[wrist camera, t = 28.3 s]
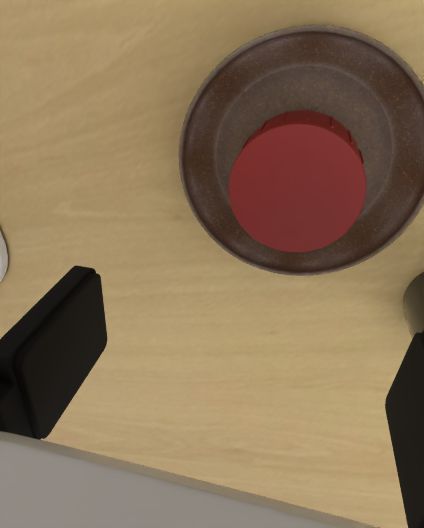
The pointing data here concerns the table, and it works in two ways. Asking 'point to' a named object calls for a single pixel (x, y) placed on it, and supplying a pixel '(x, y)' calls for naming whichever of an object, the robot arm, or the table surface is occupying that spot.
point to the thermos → (415, 305)
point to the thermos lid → (298, 182)
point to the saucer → (318, 100)
